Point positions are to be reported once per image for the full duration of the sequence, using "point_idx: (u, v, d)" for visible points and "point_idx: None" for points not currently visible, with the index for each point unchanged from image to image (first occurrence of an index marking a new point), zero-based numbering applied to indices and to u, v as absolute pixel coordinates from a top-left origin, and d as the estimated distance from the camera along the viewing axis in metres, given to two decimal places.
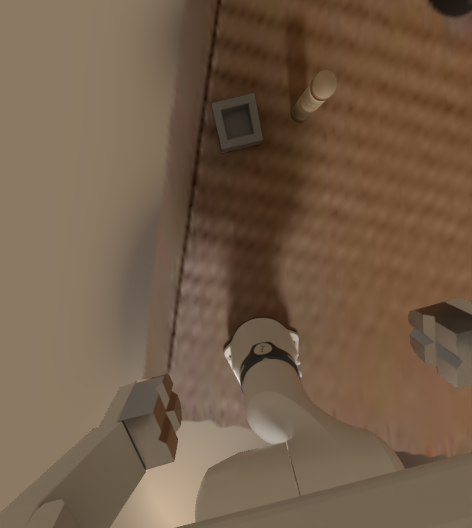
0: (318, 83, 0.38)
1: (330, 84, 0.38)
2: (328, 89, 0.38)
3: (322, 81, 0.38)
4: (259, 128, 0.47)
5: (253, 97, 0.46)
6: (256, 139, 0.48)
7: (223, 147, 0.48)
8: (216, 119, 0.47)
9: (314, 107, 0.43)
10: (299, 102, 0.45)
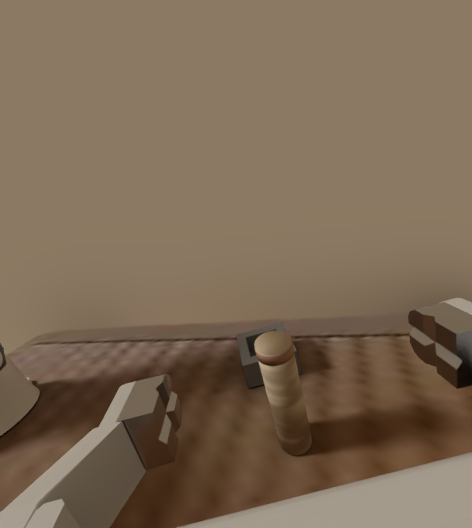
0: (272, 335, 0.25)
1: (272, 346, 0.24)
2: (265, 346, 0.24)
3: (276, 338, 0.25)
4: (255, 360, 0.36)
5: None
6: (243, 359, 0.37)
7: (238, 335, 0.43)
8: (266, 327, 0.43)
9: (263, 379, 0.26)
10: None
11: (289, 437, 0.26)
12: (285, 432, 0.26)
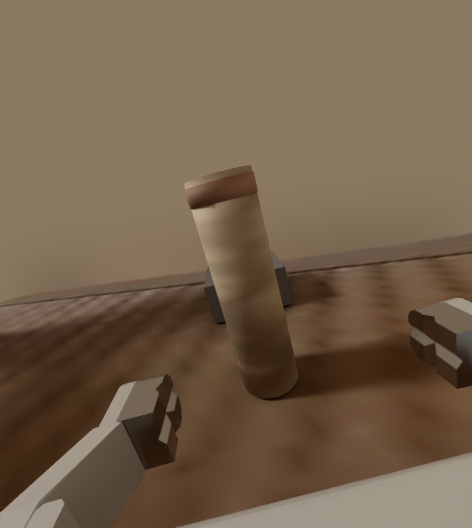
0: None
1: None
2: None
3: None
4: None
5: (276, 267, 0.25)
6: (207, 282, 0.26)
7: None
8: None
9: None
10: None
11: (254, 362, 0.15)
12: (246, 352, 0.14)
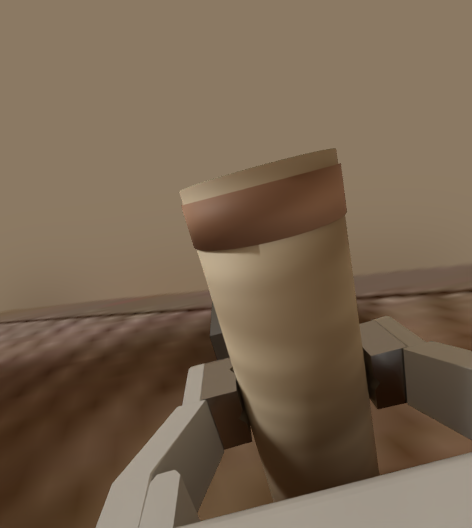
0: None
1: None
2: None
3: None
4: None
5: None
6: (213, 325, 0.18)
7: None
8: None
9: None
10: None
11: None
12: None
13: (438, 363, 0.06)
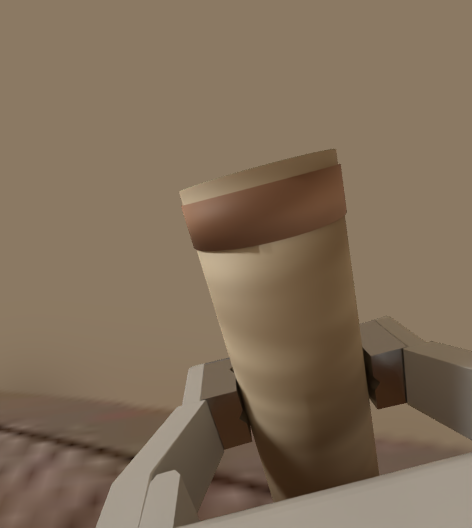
0: None
1: None
2: None
3: None
4: None
5: None
6: None
7: None
8: None
9: None
10: None
11: None
12: None
13: (438, 363, 0.06)
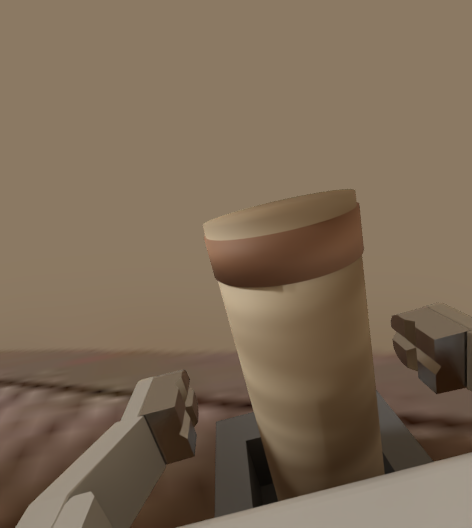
0: (276, 202, 0.07)
1: (271, 211, 0.05)
2: (242, 216, 0.06)
3: (289, 202, 0.06)
4: None
5: None
6: None
7: (221, 427, 0.12)
8: None
9: None
10: None
11: None
12: None
13: None
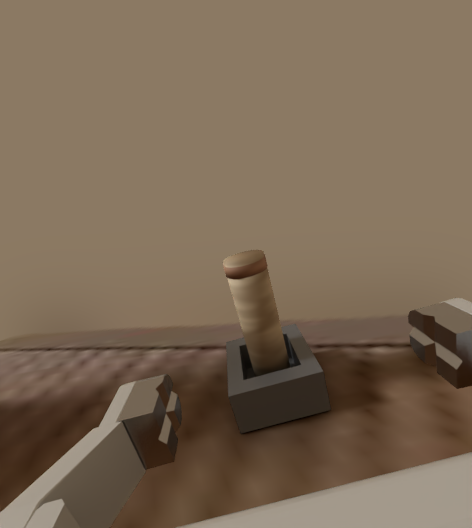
0: (245, 253, 0.23)
1: (241, 259, 0.21)
2: (233, 260, 0.22)
3: (247, 254, 0.22)
4: (252, 387, 0.21)
5: (313, 371, 0.21)
6: (230, 384, 0.22)
7: (228, 343, 0.28)
8: None
9: None
10: None
11: (264, 370, 0.23)
12: (260, 364, 0.23)
13: None
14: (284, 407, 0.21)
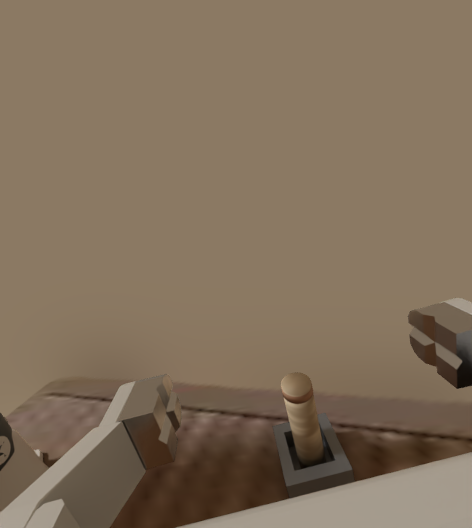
0: (295, 376, 0.32)
1: (295, 388, 0.30)
2: (290, 387, 0.30)
3: (298, 380, 0.31)
4: (302, 479, 0.30)
5: (345, 468, 0.30)
6: (285, 474, 0.31)
7: (274, 428, 0.37)
8: None
9: (287, 412, 0.32)
10: None
11: (308, 460, 0.32)
12: (305, 456, 0.32)
13: None
14: None
